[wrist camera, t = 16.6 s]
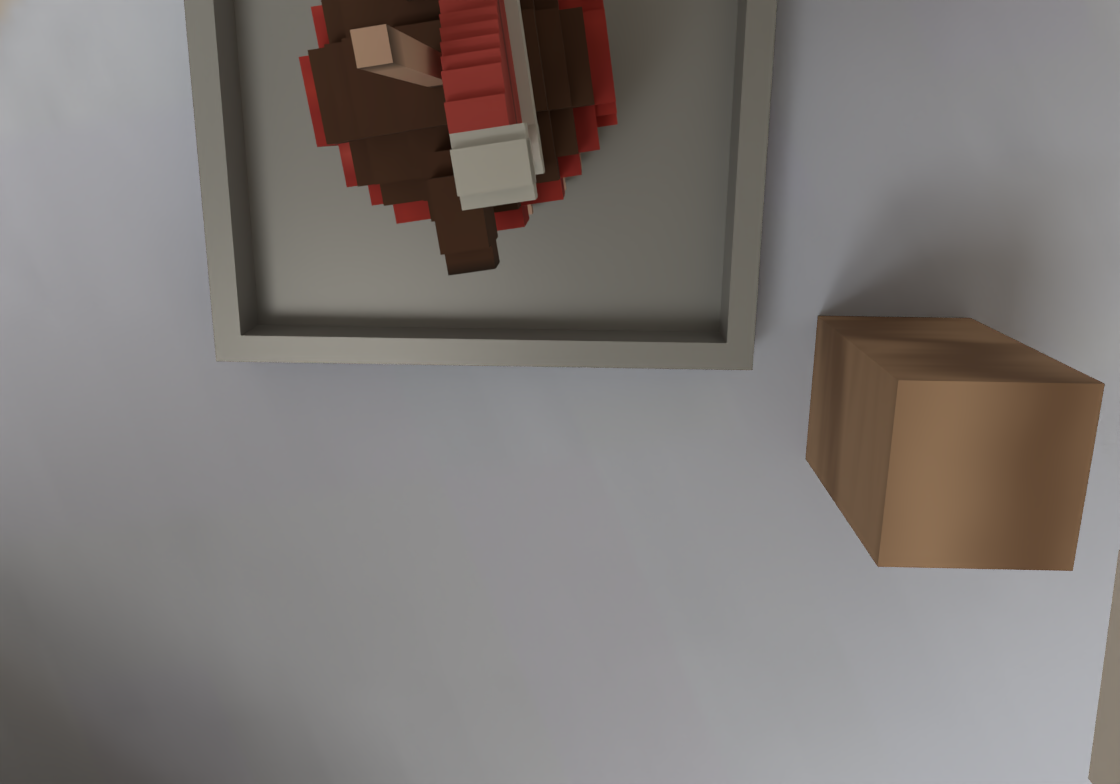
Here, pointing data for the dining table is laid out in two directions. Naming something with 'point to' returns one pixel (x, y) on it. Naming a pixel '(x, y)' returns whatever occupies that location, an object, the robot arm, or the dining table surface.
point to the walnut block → (951, 442)
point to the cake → (461, 108)
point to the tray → (525, 253)
